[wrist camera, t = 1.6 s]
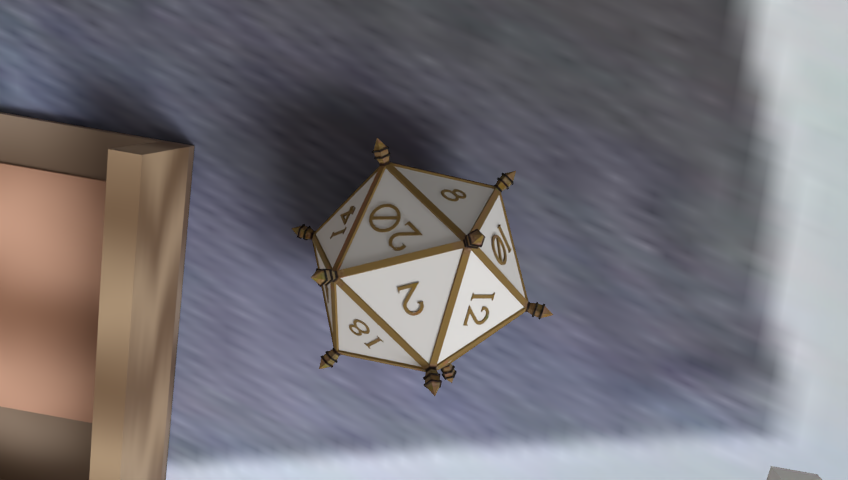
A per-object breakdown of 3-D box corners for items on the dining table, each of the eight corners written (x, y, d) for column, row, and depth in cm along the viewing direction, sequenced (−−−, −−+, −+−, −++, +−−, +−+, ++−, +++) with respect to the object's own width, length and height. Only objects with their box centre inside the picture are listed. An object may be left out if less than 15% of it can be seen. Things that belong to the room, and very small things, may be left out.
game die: (386, 233, 31) (197, 234, 23) (513, 115, 26) (332, 67, 19) (474, 406, 28) (289, 473, 20) (635, 305, 23) (479, 341, 16)
